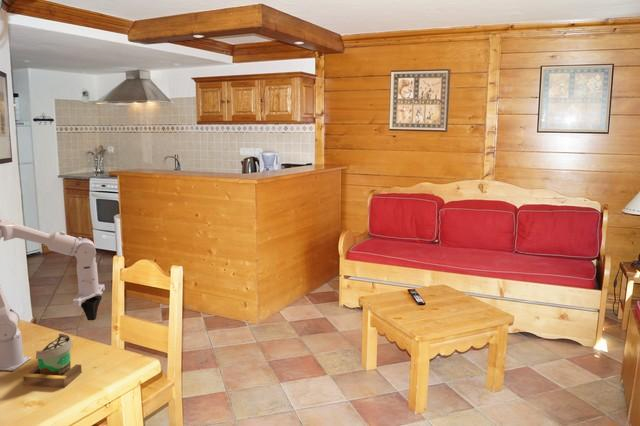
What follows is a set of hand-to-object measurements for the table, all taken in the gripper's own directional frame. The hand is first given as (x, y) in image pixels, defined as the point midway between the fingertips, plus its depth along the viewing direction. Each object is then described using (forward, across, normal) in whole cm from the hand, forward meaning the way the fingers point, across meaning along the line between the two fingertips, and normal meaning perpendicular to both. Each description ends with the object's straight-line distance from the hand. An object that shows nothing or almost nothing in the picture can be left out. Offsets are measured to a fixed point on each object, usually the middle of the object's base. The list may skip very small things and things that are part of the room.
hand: (91, 319), depth 159 cm
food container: (+10, -16, +1) cm, 19 cm away
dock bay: (+10, -19, +2) cm, 21 cm away
